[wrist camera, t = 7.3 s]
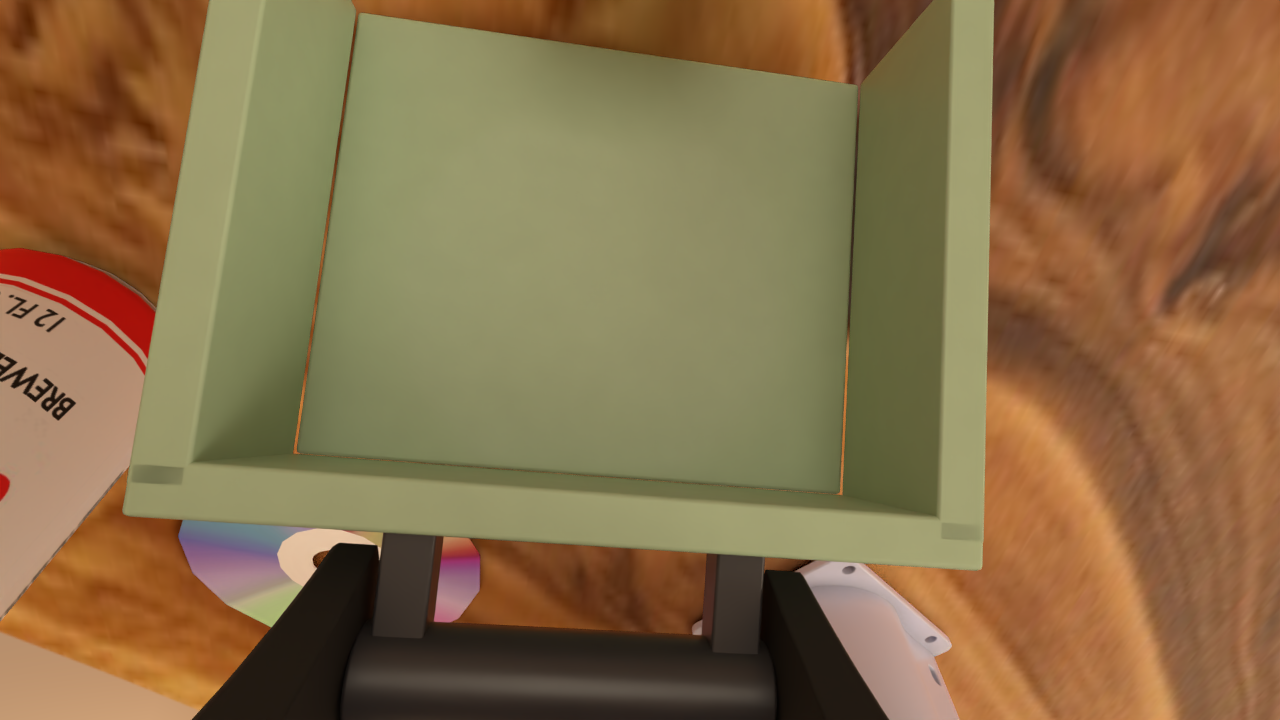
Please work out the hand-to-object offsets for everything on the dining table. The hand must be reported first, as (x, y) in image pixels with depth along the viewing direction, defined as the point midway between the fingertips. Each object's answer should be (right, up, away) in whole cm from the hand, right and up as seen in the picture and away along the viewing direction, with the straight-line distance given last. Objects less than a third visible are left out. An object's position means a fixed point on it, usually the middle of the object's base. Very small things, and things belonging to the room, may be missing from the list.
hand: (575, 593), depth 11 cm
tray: (0, +4, +3) cm, 5 cm away
